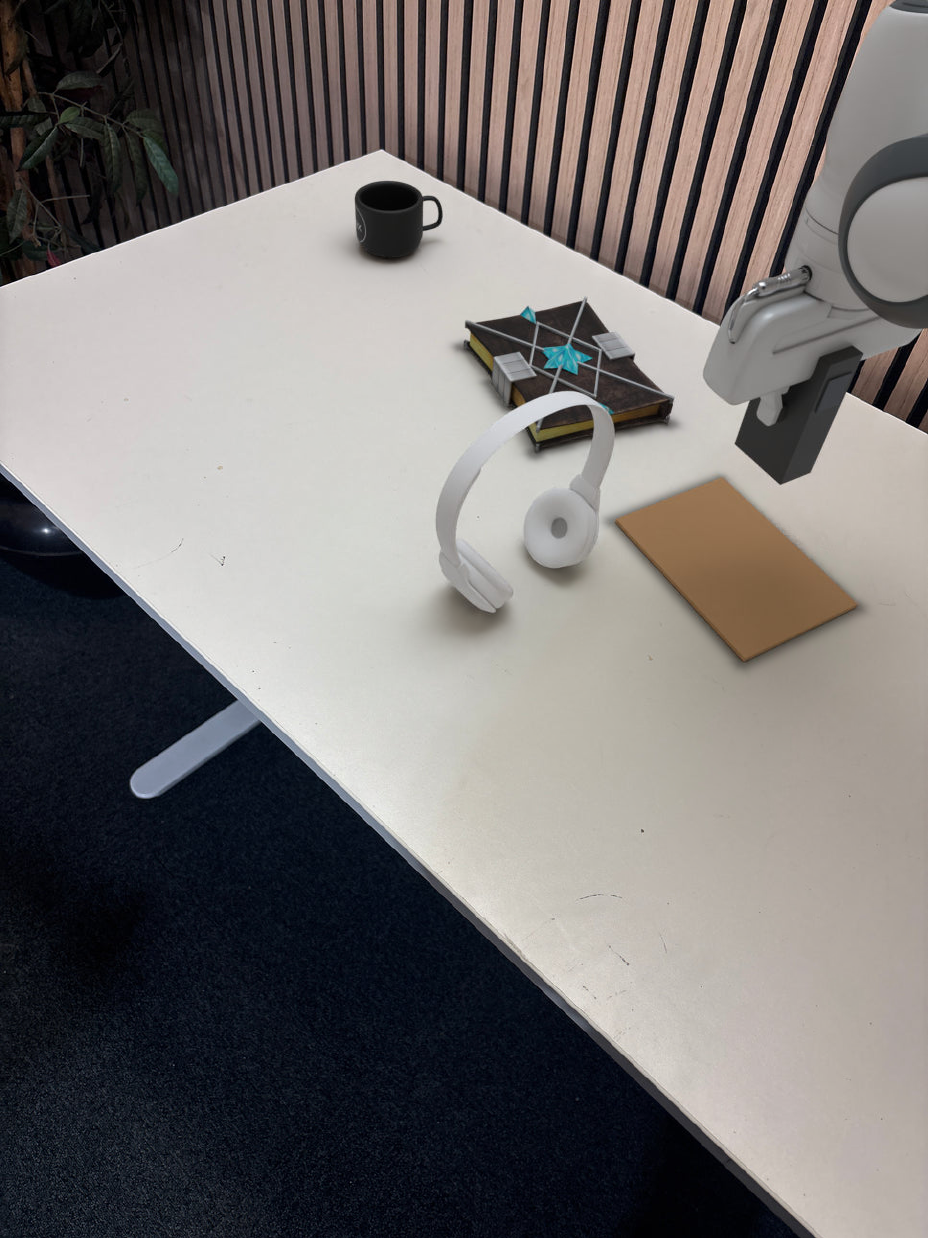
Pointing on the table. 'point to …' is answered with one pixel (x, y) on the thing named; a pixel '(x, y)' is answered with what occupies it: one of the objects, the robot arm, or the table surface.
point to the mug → (391, 218)
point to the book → (566, 369)
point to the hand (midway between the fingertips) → (791, 411)
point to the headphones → (554, 520)
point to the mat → (735, 567)
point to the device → (799, 419)
